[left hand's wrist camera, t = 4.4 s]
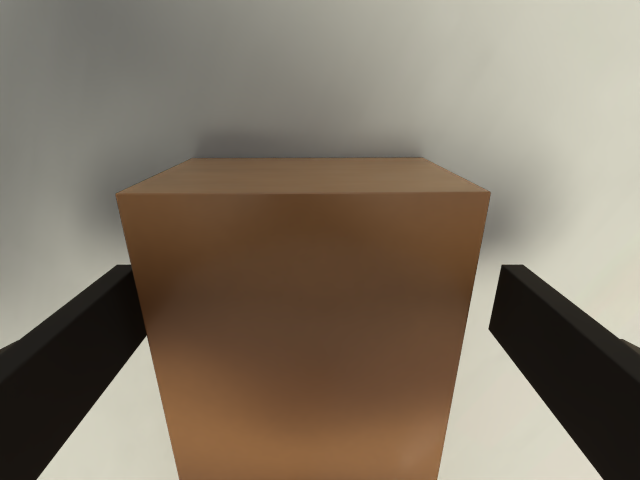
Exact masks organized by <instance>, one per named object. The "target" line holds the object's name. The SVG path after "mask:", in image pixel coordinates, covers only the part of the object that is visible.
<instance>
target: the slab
mask: <svg viewBox="0 0 640 480" xmlns="http://www.w3.org/2000/svg"><path fill="white" fill-rule="evenodd" d="M490 194H491V192H489V191H487V190H485V189H484V188H482V187H480V186H478V185H476V184H474V183H472V182H470V181H468V180H466V179H464V178H462V177H460V176H458V175H456V174H454V173H452V172H450V171H448V170H446V169H444V168H442V167H440V166H438V165H436V164H434V163H432V162H430V161H428V160H426V159H424V158H192V159H189V160H187V161H185V162H183V163H181V164H179V165H176V166H174V167H172V168H170V169H168V170H166V171H163V172H161V173H159V174H157V175H155V176H153V177H151V178H148V179H146V180H144V181H142V182H140V183H138V184H135V185H133V186H131V187H129V188H127V189H125V190H122V191H120V192H118V193H116V200H117V204H118V208H119V213H120V217H121V222H122V226H123V231H124V235H125V240H126V244H127V249H128V253H129V257H130V262H131V266H132V271H133V275H134V280H135V284H136V289H137V293H138V298H139V302H140V306H141V311H142V315H143V320H144V324H145V329H146V333H147V338H148V342H149V347H150V351H151V355H152V360H153V364H154V369H155V373H156V378H157V382H158V387H159V391H160V396H161V400H162V404H163V409H164V413H165V418H166V422H167V427H168V431H169V436H170V440H171V445H172V449H173V453H174V458H175V462H176V467H177V471H178V476H179V480H437V477H438V472H439V467H440V461H441V456H442V451H443V445H444V440H445V435H446V429H447V424H448V419H449V413H450V408H451V403H452V397H453V392H454V387H455V381H456V376H457V371H458V365H459V360H460V355H461V349H462V344H463V339H464V333H465V328H466V323H467V317H468V312H469V307H470V301H471V296H472V291H473V285H474V280H475V275H476V269H477V264H478V259H479V253H480V248H481V243H482V237H483V232H484V226H485V221H486V216H487V210H488V205H489V200H490Z"/></svg>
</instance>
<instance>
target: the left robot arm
mask: <svg viewBox="0 0 640 480" xmlns="http://www.w3.org/2000/svg"><path fill="white" fill-rule="evenodd" d="M489 330H490V332H491V333H492V334H493V336H494V337H495V338H496V340H497V341H498V342H499V344H500V345H501V346H502V347H503V349H504V350H505V351H506V353H507V354H508V355H509V357H510V358H511V359H512V361H513V362H514V363H515V364H516V366H517V367H518V368H519V370H520V371H521V372H522V374H523V375H524V376H525V378H526V379H527V380H528V381H529V383H530V384H531V385H532V387H533V388H534V389H535V391H536V392H537V393H538V395H539V396H540V397H541V398H542V400H543V401H544V402H545V404H546V405H547V406H548V408H549V409H550V410H551V412H552V413H553V414H554V415H555V417H556V418H557V419H558V421H559V422H560V423H561V425H562V426H563V427H564V429H565V430H566V431H567V432H568V434H569V435H570V436H571V438H572V439H573V440H574V442H575V443H576V444H577V446H578V447H579V448H580V450H581V451H582V452H583V453H584V455H585V456H586V457H587V459H588V460H589V461H590V463H591V464H592V465H593V467H594V468H595V469H596V470H597V472H598V473H599V474H600V476H601V477H602V478H603V480H640V348H639V347H637V346H635V345H633V344H631V343H629V342H627V341H625V340H623V339H619V338H618V337H616V336H615V335H614V334H612V333H611V332H610V331H608V330H607V329H606V328H605V327H603V326H602V325H601V324H599V323H598V322H597V321H595V320H594V319H593V318H592V317H590V316H589V315H588V314H586V313H585V312H584V311H582V310H581V309H580V308H579V307H577V306H576V305H575V304H573V303H572V302H571V301H569V300H568V299H567V298H566V297H564V296H563V295H562V294H560V293H559V292H558V291H556V290H555V289H554V288H553V287H551V286H550V285H549V284H547V283H546V282H545V281H543V280H542V279H541V278H540V277H538V276H537V275H536V274H534V273H533V272H532V271H530V270H529V269H528V268H527V267H525V266H524V265H502V266H501V271H500V276H499V281H498V285H497V290H496V295H495V300H494V305H493V310H492V315H491V319H490V324H489ZM146 336H147V333H146V329H145V324H144V320H143V315H142V311H141V306H140V302H139V298H138V293H137V289H136V284H135V280H134V275H133V271H132V266H131V265H116V266H115V267H113V268H112V269H111V270H110V271H108V272H107V273H106V274H104V275H103V276H102V277H100V278H99V279H98V280H97V281H95V282H94V283H93V284H91V285H90V286H89V287H87V288H86V289H85V290H84V291H82V292H81V293H80V294H78V295H77V296H76V297H74V298H73V299H72V300H71V301H69V302H68V303H67V304H65V305H64V306H63V307H61V308H60V309H59V310H58V311H56V312H55V313H54V314H52V315H51V316H50V317H48V318H47V319H46V320H45V321H43V322H42V323H41V324H39V325H38V326H37V327H35V328H34V329H33V330H32V331H30V332H29V333H28V334H26V335H25V336H24V337H22V338H21V339H20V340H18V341H16V342H14V343H12V344H10V345H8V346H6V347H4V348H2V349H0V480H37V478H38V477H39V476H40V474H41V473H42V472H43V470H44V469H45V468H46V467H47V465H48V464H49V463H50V461H51V460H52V459H53V457H54V456H55V455H56V453H57V452H58V451H59V450H60V448H61V447H62V446H63V444H64V443H65V442H66V440H67V439H68V438H69V436H70V435H71V434H72V432H73V431H74V430H75V429H76V427H77V426H78V425H79V423H80V422H81V421H82V419H83V418H84V417H85V415H86V414H87V413H88V412H89V410H90V409H91V408H92V406H93V405H94V404H95V402H96V401H97V400H98V398H99V397H100V396H101V395H102V393H103V392H104V391H105V389H106V388H107V387H108V385H109V384H110V383H111V381H112V380H113V379H114V378H115V376H116V375H117V374H118V372H119V371H120V370H121V368H122V367H123V366H124V364H125V363H126V362H127V361H128V359H129V358H130V357H131V355H132V354H133V353H134V351H135V350H136V349H137V347H138V346H139V345H140V344H141V342H142V341H143V340H144V338H145V337H146Z"/></svg>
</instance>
